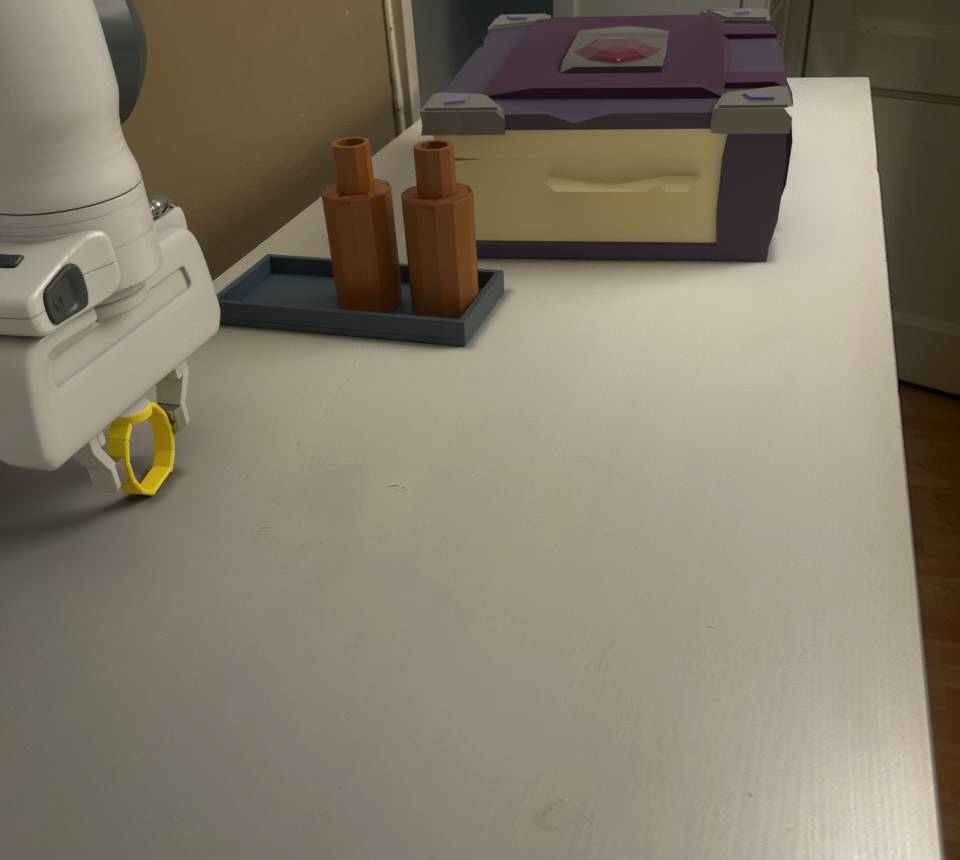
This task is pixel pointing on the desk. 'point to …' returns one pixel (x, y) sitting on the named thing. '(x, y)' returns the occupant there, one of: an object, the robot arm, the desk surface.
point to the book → (622, 136)
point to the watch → (162, 440)
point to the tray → (314, 308)
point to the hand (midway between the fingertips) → (144, 456)
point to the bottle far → (439, 234)
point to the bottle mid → (361, 231)
